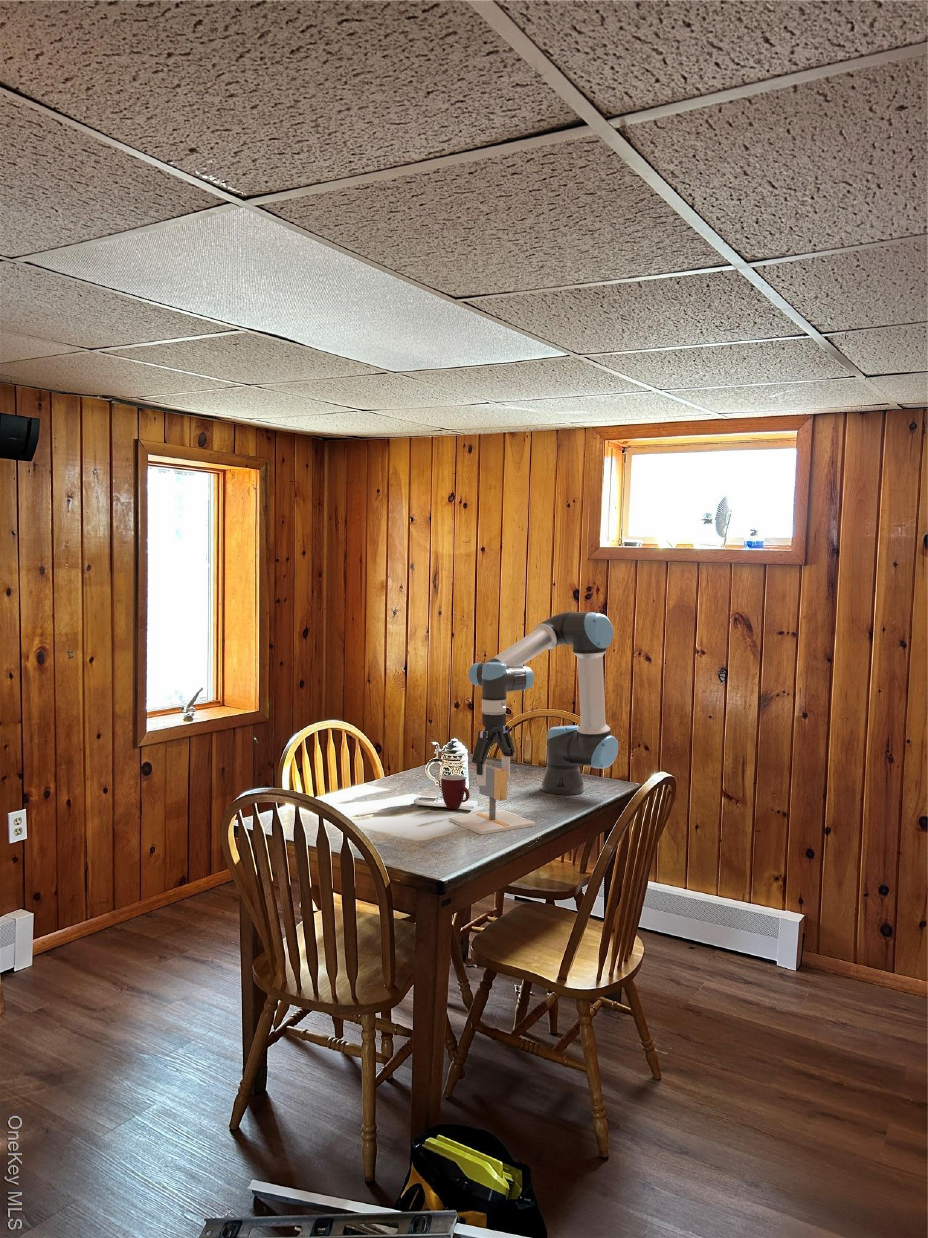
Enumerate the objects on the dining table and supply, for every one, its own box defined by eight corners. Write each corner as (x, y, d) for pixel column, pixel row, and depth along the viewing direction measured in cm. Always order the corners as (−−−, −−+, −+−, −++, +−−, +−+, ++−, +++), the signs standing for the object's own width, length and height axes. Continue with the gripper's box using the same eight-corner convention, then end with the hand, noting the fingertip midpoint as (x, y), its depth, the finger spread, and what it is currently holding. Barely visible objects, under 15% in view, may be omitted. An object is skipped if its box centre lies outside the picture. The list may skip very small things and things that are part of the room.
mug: (476, 808, 300) (476, 778, 300) (463, 813, 294) (463, 782, 293) (449, 803, 306) (449, 774, 306) (436, 808, 299) (436, 778, 299)
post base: (502, 812, 295) (502, 788, 295) (535, 825, 280) (536, 799, 280) (449, 820, 284) (449, 795, 284) (481, 834, 269) (481, 807, 269)
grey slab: (479, 793, 286) (479, 764, 285) (485, 792, 287) (486, 764, 287) (499, 801, 276) (500, 771, 276) (506, 800, 278) (507, 770, 278)
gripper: (481, 719, 268) (480, 790, 269) (525, 709, 289) (525, 775, 290) (460, 716, 273) (460, 787, 274) (505, 706, 293) (505, 772, 294)
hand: (493, 781), depth 282 cm, fingers open, 13 cm apart
